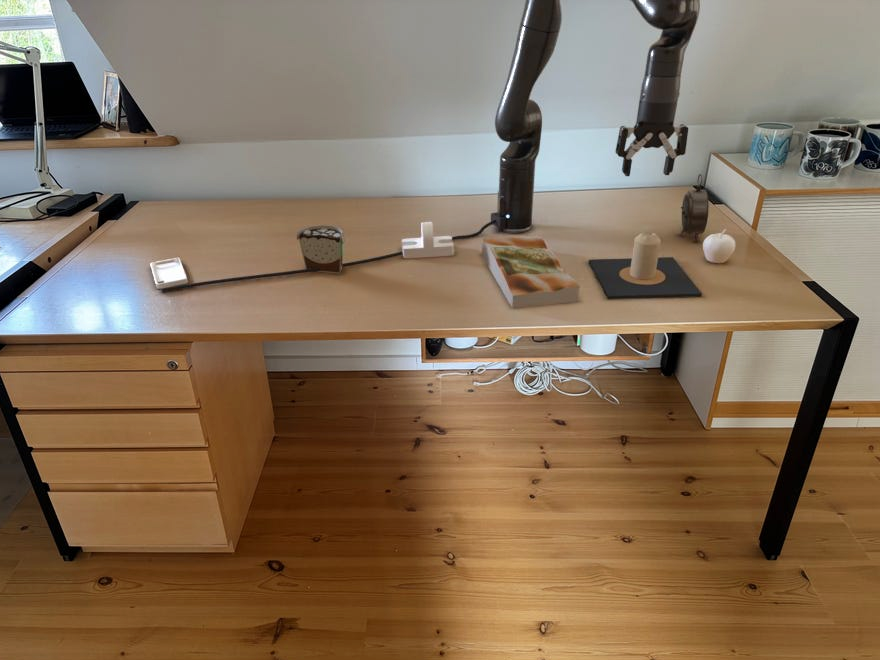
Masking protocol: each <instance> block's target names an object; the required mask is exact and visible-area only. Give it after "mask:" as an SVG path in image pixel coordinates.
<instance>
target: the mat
mask: <svg viewBox="0 0 880 660" xmlns="http://www.w3.org/2000/svg"><path fill="white" fill-rule="evenodd" d="M631 261H632V257H630V258H602V259H601V258H600V259H599V258H597V259H588V265H589V266H590V268H591V270H592V272H593V274H594V276H595V277H596V279H597V281H598V284H599V285H600V288H601V289H602V291H603V293H604V295H605V297H606V299H607V300H623V299H624V300H629V299H631V300H632V299H660V298H661V299H663V298H664V299H667V298H701V297H702V296H703V293H702V291H700V289H699V288H698V287H697V286H696V284H695V283H694V282H693V280H692V279H691V277H689V276H688V274H687V272H685V270H684V269H683V268H682V267H681V265H680V264H679V262H677V260H675V257H673V256H665V257H663V256H661V257H658V261H657V267H656V273H655V276H654V278H652V279H647V280H642V279H636V278H634V277H632V276H631V275H630V268H631Z"/></svg>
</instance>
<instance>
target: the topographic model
mask: <svg viewBox="0 0 880 660" xmlns="http://www.w3.org/2000/svg"><path fill="white" fill-rule="evenodd" d="M481 256H482V258H483V260H484V262H485V263H486V265H487V267H488V269H489V270H490V272H491V273H492V275H493V277H494V279H495V281H496V283H497V284H498V286H499V288H500V289H501V291H502V292H503V294H504V296H505V298H506V299H507V301H508V303H509V305H510V306H511V308H512V309H514V308H515V309H516V308H525V307H537V306H548V305H557V304H566V303H568V304H569V303H576V302H577V303H578V301H579V294H580V293H579V292H580V284H579V283H578V282H577V281H576V280H575V279H574V278H573V277H572V276H570V275H568V273H567V272H566V270H565V269H563V268H562V266H561V264H560V261H559V260H558V258H557V256H555V254H554V253H552V251H551V250H549V248H548V246H547V244H546V242H545V240H544V239H543V237H542V236H539V235H506V236H493V237H484V238H481Z"/></svg>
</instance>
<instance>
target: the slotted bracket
mask: <svg viewBox="0 0 880 660" xmlns="http://www.w3.org/2000/svg"><path fill="white" fill-rule="evenodd" d="M420 235H421V236H420V237H410V238H409V237H408V238H402V239H401V250H402V251H403V254H402V258H403V259H419V258H420V259H421V258H434V257H435V258H436V257H450V256H454V255H455V245H454V242H453V240H452V237H453V236H451V235H442V236H434V226H433V221H425V222H423V221H422V222H421V223H420Z"/></svg>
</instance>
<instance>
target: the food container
mask: <svg viewBox="0 0 880 660" xmlns="http://www.w3.org/2000/svg"><path fill="white" fill-rule="evenodd" d="M296 240H298V241H299V245H300V250H301V254H302V259H303V262H304V263H303V264H304V267H305V269H310V268H320V271H316V272H317V273H329V274H337V275H341V274H342V273H343V267H342V264H343V245H344V244H345V243H346V237H345V235H344V232H343V230H342V229H341V228H339V227H337V226H334V225H326V224H325V225H323V224H322V225H312V226H307V227H304V228H302V229H300V230H298V231H297V234H296Z"/></svg>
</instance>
